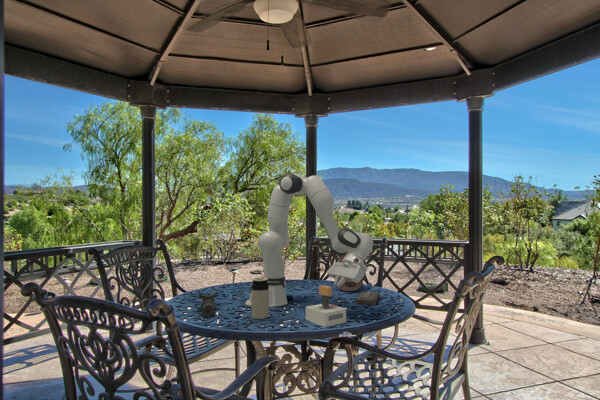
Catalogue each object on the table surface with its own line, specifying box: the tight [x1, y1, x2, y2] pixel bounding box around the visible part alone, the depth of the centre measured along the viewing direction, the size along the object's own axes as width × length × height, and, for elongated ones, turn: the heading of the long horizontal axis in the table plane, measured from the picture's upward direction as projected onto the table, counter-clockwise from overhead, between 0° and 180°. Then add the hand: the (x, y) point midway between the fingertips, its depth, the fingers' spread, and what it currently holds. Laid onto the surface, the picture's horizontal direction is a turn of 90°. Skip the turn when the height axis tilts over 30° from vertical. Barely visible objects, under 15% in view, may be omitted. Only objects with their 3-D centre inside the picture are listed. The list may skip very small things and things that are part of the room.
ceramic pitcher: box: [328, 250, 364, 292], centre depth 246 cm, size 18×21×25 cm
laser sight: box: [197, 288, 219, 318], centre depth 197 cm, size 10×22×10 cm, turn 13°
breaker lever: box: [318, 284, 333, 307], centre depth 178 cm, size 2×6×9 cm, turn 35°
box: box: [355, 291, 380, 306], centre depth 217 cm, size 11×17×3 cm, turn 162°
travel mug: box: [251, 276, 270, 320], centre depth 186 cm, size 8×8×18 cm
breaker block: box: [305, 303, 347, 328], centre depth 178 cm, size 12×14×6 cm
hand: (336, 286), depth 182 cm, fingers closed
